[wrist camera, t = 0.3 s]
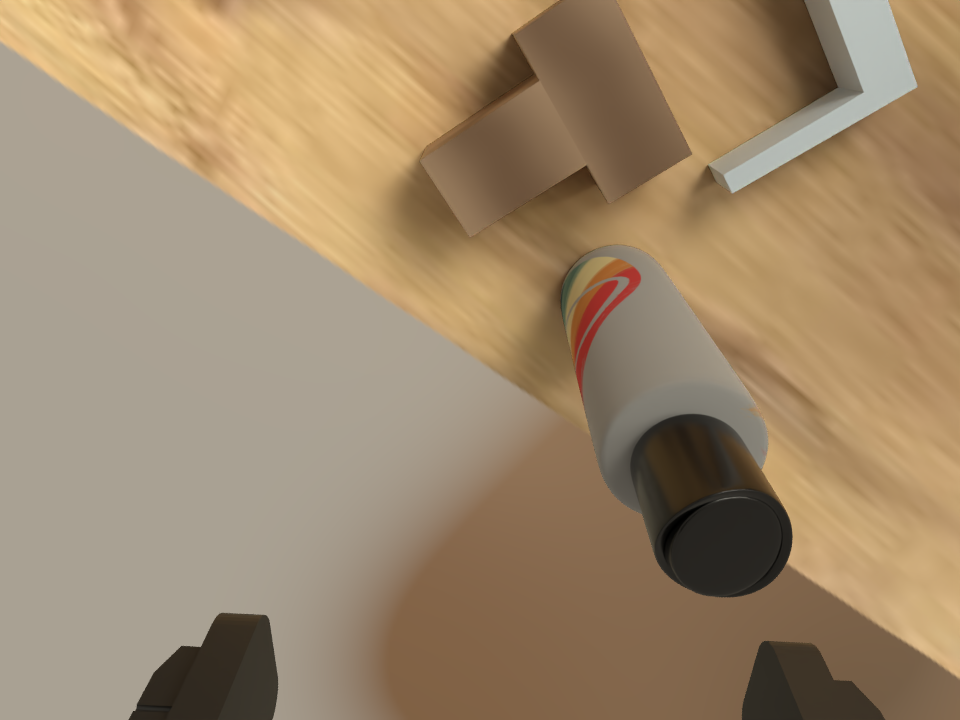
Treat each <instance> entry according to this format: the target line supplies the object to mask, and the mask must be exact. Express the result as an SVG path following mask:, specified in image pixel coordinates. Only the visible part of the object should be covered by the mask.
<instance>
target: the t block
mask: <svg viewBox="0 0 960 720" xmlns="http://www.w3.org/2000/svg"><path fill="white" fill-rule="evenodd" d="M512 35H513V37H514V39H515V40H516V42H517V44H518V46H519V48H520V49H521V51H522V53H523V55H524V57H525V58H526V60H527V62H528V64H529V65H530V67H531V69H532V71H533V73H534V75H532V76H531V77H529V78H528V79H526V80H525V81H523V82H522V83H520V84H519V85H517V86H516V87H514V88H513V89H511V90H510V91H508V92H507V93H505V94H504V95H502V96H501V97H499V98H498V99H496V100H495V101H493V102H492V103H490V104H489V105H487V106H486V107H484V108H483V109H481V110H480V111H478V112H477V113H475V114H474V115H472V116H471V117H469V118H468V119H467V120H465V121H464V122H462V123H461V124H459V125H458V126H456V127H455V128H453V129H452V130H450V131H449V132H447V133H446V134H444V135H443V136H441V137H440V138H438V139H437V140H435V141H434V142H432V143H431V144H429V145H428V146H427V147H426V149H425V151H424V153H423V155H422V157H421V159H420V163H421V165H422V166H423V168H424V169H425V171H426V172H427V174H428V175H429V177H430V178H431V180H432V181H433V183H434V184H435V186H436V187H437V189H438V190H439V192H440V193H441V195H442V196H443V198H444V199H445V201H446V202H447V204H448V206H449V207H450V209H451V210H452V212H453V213H454V215H455V216H456V218H457V219H458V221H459V222H460V224H461V225H462V227H463V228H464V230H465V231H466V233H467V234H468V236H469V237H472V236H474V235H475V234H477V233H478V232H480V231H482V230H483V229H485V228H486V227H488V226H490V225H491V224H493V223H495V222H496V221H498V220H499V219H501V218H503V217H504V216H506V215H507V214H509V213H511V212H512V211H514V210H515V209H517V208H519V207H520V206H522V205H523V204H525V203H527V202H528V201H530V200H532V199H533V198H535V197H536V196H538V195H540V194H541V193H543V192H544V191H546V190H548V189H549V188H551V187H552V186H554V185H556V184H557V183H559V182H560V181H562V180H564V179H565V178H567V177H569V176H570V175H572V174H573V173H575V172H577V171H578V170H580V169H581V168H583V167H585V166H586V167H587V169H588V171H589V172H590V174H591V176H592V178H593V180H594V181H595V183H596V185H597V186H598V188H599V190H600V191H601V193H602V194H603V196H604V197H605V199H606V200H607V202H608V203H609V204H610V203H612V202H613V201H615V200H617V199H618V198H620V197H622V196H623V195H625V194H627V193H628V192H630V191H632V190H633V189H635V188H637V187H638V186H640V185H642V184H643V183H645V182H647V181H648V180H650V179H652V178H653V177H655V176H657V175H658V174H660V173H662V172H663V171H665V170H667V169H668V168H670V167H672V166H673V165H675V164H677V163H678V162H680V161H682V160H683V159H685V158H687V157H688V156H690V155H692V152H691V150H690V148H689V146H688V144H687V142H686V140H685V138H684V136H683V134H682V132H681V130H680V128H679V126H678V124H677V122H676V120H675V118H674V116H673V114H672V112H671V110H670V108H669V106H668V104H667V102H666V100H665V98H664V96H663V94H662V92H661V90H660V88H659V86H658V84H657V82H656V80H655V78H654V76H653V74H652V72H651V69H650V67H649V65H648V63H647V61H646V59H645V57H644V55H643V53H642V51H641V49H640V47H639V45H638V43H637V41H636V39H635V37H634V35H633V33H632V31H631V29H630V27H629V25H628V23H627V21H626V19H625V17H624V15H623V13H622V11H621V9H620V7H619V5H618V3H617V1H616V0H559V1H558V2H556V3H555V4H553V5H552V6H551V7H549V8H548V9H546V10H545V11H543V12H542V13H541V14H539V15H538V16H536V17H535V18H533V19H532V20H530V21H529V22H528V23H526V24H525V25H523V26H522V27H520V28H519V29H517V30H516V31H515V32H513V33H512Z"/></svg>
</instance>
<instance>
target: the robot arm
mask: <svg viewBox="0 0 960 720" xmlns="http://www.w3.org/2000/svg"><path fill="white" fill-rule="evenodd" d="M277 693H278V676H277V669H276V662H275V655H274V648H273V642H272V635H271V628H270V622H269V619H268V617H267V616H266V615H254V614H233V613H221V614H219V615H218V616H217V617H216V618H215V620H214V622H213V623H212V625H211V627H210V629H209V631H208V634H207V636H206V638H205V640H204V642H203V644H202V646H201V647H190V646H181V647H180V648H179V649H178V650H177V651H176V652H175V653H174V654H173V655H172V656H171V657H170V658H169V659H168V660H166V662H164V663H163V664H162V665H161V666H160V667H159V668H158V669H157V670H156V671H155V672H154V674H153V675H152V677H151V679H150V681H149V683H148V685H147V687H146V688H145V691H144V692H143V694H142V696H141V698H140V700H139V702H138V703H137V709H136V711H133V713H132V714H131V716H130V718H129V720H272V719H273V716H274V712H275V707H276V700H277ZM742 720H885V719H884V717H883V715H882V714H881V712H880V711H879V710H878V708H876V706H874V704H873V703H872V702H871V701H870V700H869V699H868V698H867V697H866V696H865V695H864V694H863V693H862V692H861V691H860V690H859V689H858V688H857V687H856V686H855V684H854V683H853V682H852V681H836V680H833V678H832V676H831V674H830V672H829V669H828V667H827V666H826V663H825V661H824V659H823V657H822V655H821V653H820V651H819V650H818V649H817V647H816V646H815V645H813V644H811V643H795V642H774V641H764V642H762V643H761V645H760V646H759V649H758V653H757V656H756V660H755V663H754V667H753V670H752V674H751V677H750V681H749V684H748V688H747V691H746V694H745V698H744V702H743V708H742Z"/></svg>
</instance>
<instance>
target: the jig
mask: <svg viewBox="0 0 960 720" xmlns="http://www.w3.org/2000/svg"><path fill="white" fill-rule="evenodd" d="M804 2H805V4H806V7H807V9H808V12H809V14H810V17H811V19H812V22H813V25H814V27H815V30H816V32H817V35H818V37H819V40H820V43H821V45H822V48H823V50H824V53H825V55H826V58H827V60H828V63H829V66H830V68H831V71H832V73H833V76H834V78H835V81H836V83H837V86H838V88H836V89H834V90H833V91H831V92H829V93H828V94H826V95H824V96H823V97H821V98H819V99H818V100H816V101H814V102H813V103H811V104H809V105H807V106H806V107H804V108H802V109H801V110H799V111H797V112H796V113H794V114H792V115H791V116H789V117H787V118H786V119H784V120H782V121H780V122H779V123H777V124H775V125H774V126H772V127H770V128H769V129H767V130H765V131H764V132H762V133H760V134H759V135H757V136H755V137H754V138H752V139H750V140H748V141H747V142H745V143H743V144H742V145H740V146H738V147H737V148H735V149H733V150H732V151H730V152H728V153H727V154H725V155H723V156H721V157H720V158H718V159H716V160H715V161H713V162H711V163H710V164H708V166H709V168H710V170H711V172H712V174H713V176H714V178H715V180H716V182H717V183H718V184H720V185H721V186H722V187H724V188H725V189H727V190H728V191H729V192H731V193H732V194H733V193H734V192H736V191H738V190H740V189H741V188H743V187H745V186H747V185H748V184H750V183H752V182H754V181H755V180H757V179H759V178H760V177H762V176H764V175H766V174H767V173H769V172H771V171H773V170H774V169H776V168H778V167H780V166H781V165H783V164H785V163H786V162H788V161H790V160H792V159H793V158H795V157H797V156H799V155H800V154H802V153H804V152H806V151H807V150H809V149H811V148H812V147H814V146H816V145H818V144H819V143H821V142H823V141H825V140H826V139H828V138H830V137H832V136H833V135H835V134H837V133H839V132H840V131H842V130H844V129H845V128H847V127H849V126H851V125H852V124H854V123H856V122H858V121H859V120H861V119H863V118H865V117H866V116H868V115H870V114H871V113H873V112H875V111H877V110H878V109H880V108H882V107H884V106H885V105H887V104H889V103H891V102H892V101H894V100H896V99H897V98H899V97H901V96H903V95H904V94H906V93H908V92H910V91H911V90H913V89H915V88H917V87H918V86H917V83H916V80H915V77H914V74H913V72H912V69H911V66H910V63H909V60H908V57H907V54H906V51H905V48H904V45H903V43H902V40H901V37H900V34H899V31H898V28H897V25H896V22H895V19H894V16H893V14H892V11H891V8H890V5H889V2H888V0H804Z"/></svg>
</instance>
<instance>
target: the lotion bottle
mask: <svg viewBox="0 0 960 720" xmlns="http://www.w3.org/2000/svg"><path fill="white" fill-rule="evenodd" d="M561 311H562V317H563V322H564V326H565V330H566V334H567V338H568V343H569V347H570V351H571V355H572V359H573V363H574V367H575V372H576V376H577V380H578V384H579V388H580V392H581V397H582V401H583V405H584V409H585V413H586V417H587V421H588V426H589V430H590V434H591V438H592V442H593V446H594V450H595V453H596V457H597V461H598V465H599V468H600V471H601V474H602V477H603V479H604V481H605V483H606V484H607V486H608V488H609V489H610V490H611V492H612V493H613V494H614V496H615V497H616V498H617V499H618V500H620V501H621V502H622V503H623V504H624V505H626V506H627V507H629V508H630V509H632V510H634V511H636V512H638V513H641V514H642V515H643V518H644V522H645V525H646V529H647V532H648V535H649V539H650V542H651V545H652V548H653V552H654V555H655V558H656V560H657V562H658V564H659V566H660V567H661V569H662V570H663V571H664V572H665V573H666V574H667V575H668V576H669V577H670V578H671V579H672V580H674V581H675V582H677V583H678V584H680V585H681V586H683V587H685V588H687V589H689V590H692V591H694V592H696V593H698V594H702V595H706V596H715V597H738V596H744V595H747V594H751V593H753V592H756V591H758V590H760V589H762V588H764V587H765V586H767V585H768V584H769V583H771V582H772V581H773V580H774V579H775V578H776V577H777V576H778V575H779V574H780V572H781V571H782V570H783V568H784V566H785V565H786V563H787V561H788V558H789V555H790V552H791V547H792V527H791V522H790V519H789V517H788V514H787V512H786V510H785V508H784V506H783V505H782V503H781V501H780V500H779V498H778V496H777V495H776V493H775V492H774V490H773V488H772V487H771V485H770V483H769V482H768V480H767V479H766V477H765V475H764V474H763V472H762V470H761V469H762V467H763V465H764V462H765V459H766V455H767V450H768V433H767V428H766V424H765V421H764V418H763V416H762V413H761V412H760V410H759V408H758V406H757V405H756V403H755V401H754V400H753V398H752V397H751V395H750V394H749V392H748V391H747V389H746V388H745V386H744V385H743V383H742V382H741V380H740V379H739V377H738V376H737V374H736V373H735V372H734V370H733V369H732V367H731V366H730V364H729V363H728V361H727V360H726V359H725V357H724V356H723V354H722V353H721V351H720V350H719V348H718V347H717V346H716V344H715V343H714V341H713V340H712V338H711V337H710V335H709V334H708V332H707V331H706V330H705V328H704V327H703V325H702V324H701V322H700V321H699V319H698V318H697V317H696V315H695V314H694V312H693V311H692V309H691V308H690V306H689V305H688V304H687V302H686V301H685V299H684V298H683V296H682V295H681V293H680V292H679V290H678V289H677V288H676V286H675V285H674V283H673V282H672V280H671V279H670V278H669V276H668V275H667V273H666V272H665V271H664V269H663V268H662V267H661V266H660V264H659V263H658V262H657V261H656V260H655V259H654V258H652V257H651V256H650V255H649V254H647V253H646V252H644V251H642V250H640V249H637V248H634V247H631V246H625V245H610V246H605V247H601V248H598V249H595V250H593V251H591V252H589V253H588V254H586V255H585V256H583V257H582V258H581V259H579V260H578V261H577V262H576V263H575V264H574V265H573V267H572V268H571V269H570V271H569V272H568V274H567V276H566V278H565V280H564V283H563V286H562V290H561Z"/></svg>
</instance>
